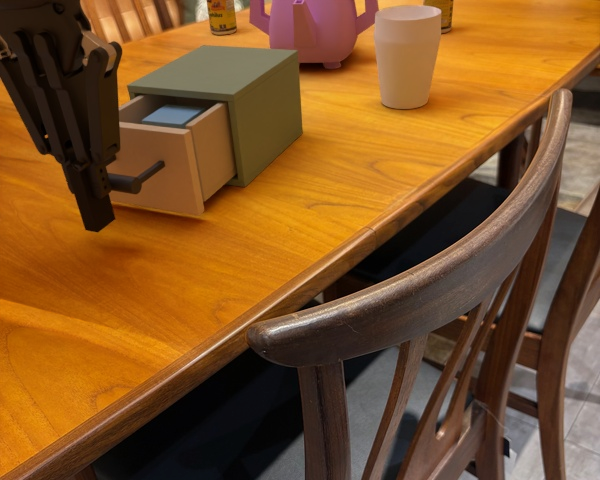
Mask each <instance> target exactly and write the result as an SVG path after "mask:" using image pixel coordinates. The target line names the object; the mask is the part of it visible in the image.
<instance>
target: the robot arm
mask: <svg viewBox="0 0 600 480" xmlns="http://www.w3.org/2000/svg"><path fill="white" fill-rule="evenodd" d="M122 56H123V48H122V45H120V43H119V42H118V41H114V40H113V41H110V42H106V41H105V40H103V39H102V38H101V37H99V36H98V35H97V34H95V33H94V32H93V30H92V24H91V22H90V19H89V17H87V15H86V13H85V11H84V9H83V7H82V5H81V0H0V80H1V82H2V84H3V86H4V88H5V90H6V92H7V94H8V96H9V97H10V100H11V101H12V104H13V106H14V107H15V109H16V111H17V113H18V115H19V117H20V119H21V121H22V123H23V125H24V127H25V129H26V131H27V132H28V134H29V136H30V138H31V141H32V142H33V145H34V147H35V148H36V150H37V152H38V153H39V154H40V155H42V156H46V155H48V154H49V155H50V156H51V157H53V158H54V160H55V162H57V163H58V164H59V165H60V166H61V169H62V172H63V176H64V178H65V182H66V185H67V187H68V190H69V191H70V193H71V194H72V195H74V198H75V201H76V205H77V208H78V211H79V214H80V217H81V221H82V224H83V227H84V230H85V231H88V232H92V233H100V232H101V231H103V230H104V229H105V228H106V227H108V226H109V225H111V223H113V222H114V221H115V220H116V219H117V218H116V214H115V211H114V207H113V204H112V201H111V200H110V196H109V193H110V192H111V184H110V182H109V181H110V180H109V178H108V177H109V176H108V173H107V169H106V165H105V160H107V159H108V158H110V157H111V156H113V155H114V154H116V153H118V152H119V151H120V126H119V107H120V105H119V104H120V103H119V88H118V87H119V84H118V69H119V66H120V62H121V60H122ZM46 136H47V137H46Z"/></svg>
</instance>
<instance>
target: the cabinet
mask: <svg viewBox="0 0 600 480" xmlns="http://www.w3.org/2000/svg"><path fill="white" fill-rule="evenodd" d="M300 80H301V79H300V66H299V62H298V50H283V49H270V48H265V47H264V48H263V47H247V46H246V47H245V46H243V47H242V46H227V45H207V44H202V45H200V46H199V47H196V48H195V49H193V50H191V51H189V52H187V53H185V54H183V55H182V56H179V57H178V58H176V59H174V60H172V61H170V62H168V63H166V64H164V65H162V66H160V67H159V68H157V69H154V70H153V71H151V72H149V73H147V74H144V76H141V77H139V78H138V79H135V80H134V81H132V82H129V83H128V84H126V88H127V92H128V96H129V101H130V100H132V99H134V98H136V97H138V96H139V95H141V94H143V93H144V94H155V95H166V96H177V97H188V98H198V99H209V100H220V101H228V106H229V113H230V121H231V128H232V136H233V143H234V151H235V158H236V166H237V174H236V175H234V176H233V177H232V178H231V179H230V180H229V181H228V182H227V183H225V184H224V185H227V186H233V187H241V188H246V187H247V186H248V185H249V184H251V182H252V181H253V180H255V179H256V178H257V177H258V176H259V175H260V174H261V173H262V172H263V171H264V170H265V169H266V168H268V167H269V165H271V164H272V163H273V161H275V160H276V159H277V158H278V157H279V156H280V155H281V154H283V152H284V151H285V150H286V149H288V148H289V147H290V146H291V145H292V144H293V143H294V142H295V141H296V140H297V139H298V138H300V136H302V134H304V129H303V114H302V113H303V111H302V98H301V95H302V94H301V81H300Z"/></svg>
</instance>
